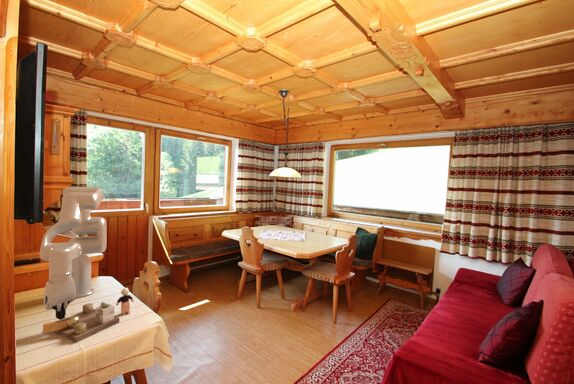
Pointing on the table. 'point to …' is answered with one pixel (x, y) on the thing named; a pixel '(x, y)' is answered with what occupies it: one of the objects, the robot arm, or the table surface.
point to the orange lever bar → (61, 324)
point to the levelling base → (90, 322)
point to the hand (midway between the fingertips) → (60, 318)
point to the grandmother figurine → (125, 302)
